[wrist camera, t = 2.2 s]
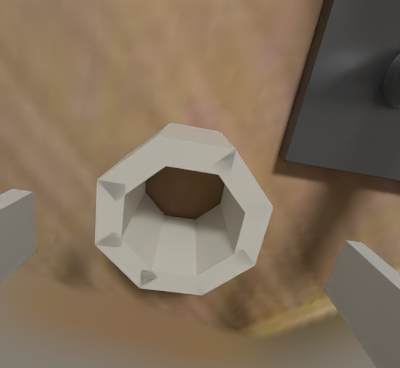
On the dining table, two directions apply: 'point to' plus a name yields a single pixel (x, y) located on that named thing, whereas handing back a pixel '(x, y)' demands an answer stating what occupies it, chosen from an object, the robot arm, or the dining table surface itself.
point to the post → (350, 92)
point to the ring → (176, 226)
